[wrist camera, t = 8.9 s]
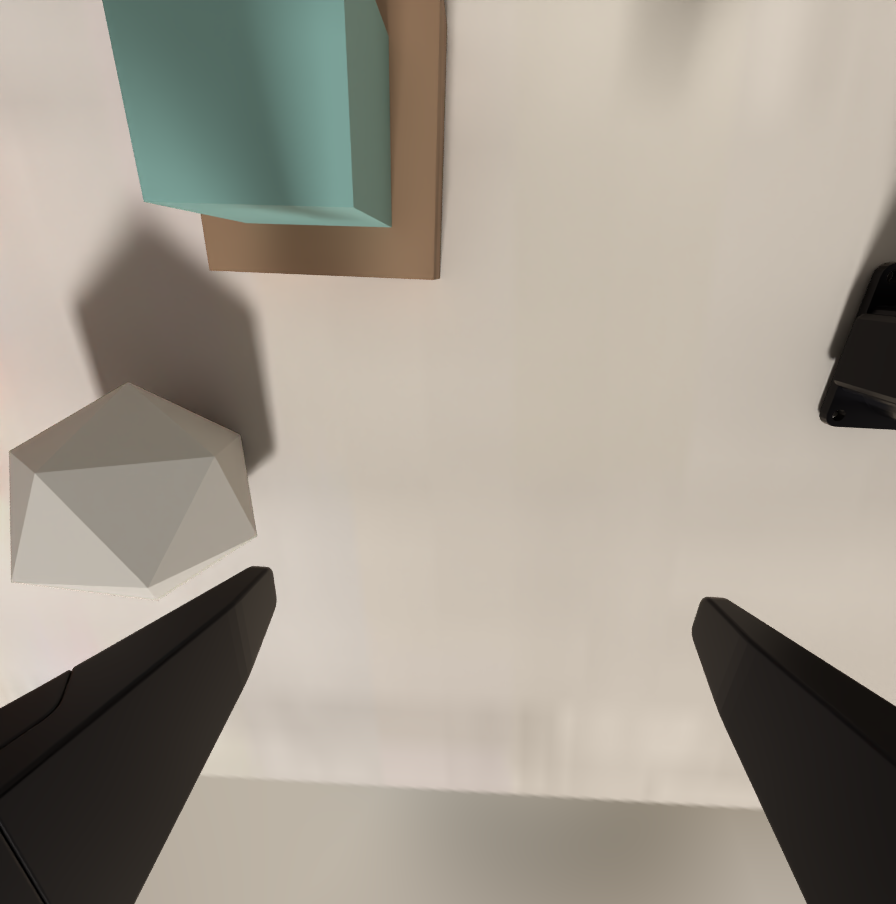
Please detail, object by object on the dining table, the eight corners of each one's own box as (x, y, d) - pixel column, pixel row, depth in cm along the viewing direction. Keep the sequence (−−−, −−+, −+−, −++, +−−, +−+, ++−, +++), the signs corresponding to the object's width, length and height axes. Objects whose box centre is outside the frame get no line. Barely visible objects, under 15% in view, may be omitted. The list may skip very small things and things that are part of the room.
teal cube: (388, 36, 13) (339, -96, 8) (391, 227, 15) (353, 207, 10) (221, 34, 13) (82, -96, 8) (246, 223, 15) (143, 201, 10)
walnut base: (446, 27, 15) (440, -28, 12) (439, 278, 18) (433, 279, 15) (218, 22, 15) (161, -32, 13) (249, 270, 18) (209, 270, 16)
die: (152, 334, 20) (-126, 453, 15) (273, 394, 17) (-35, 584, 11) (218, 460, 26) (36, 581, 20) (320, 526, 22) (132, 696, 17)
